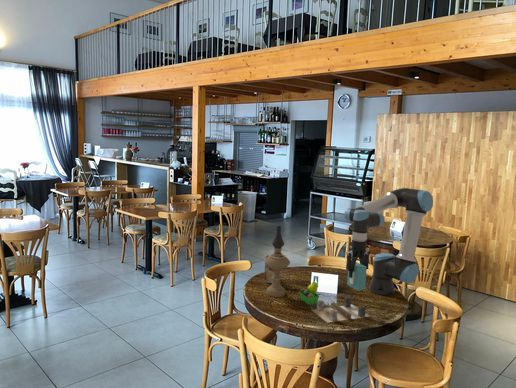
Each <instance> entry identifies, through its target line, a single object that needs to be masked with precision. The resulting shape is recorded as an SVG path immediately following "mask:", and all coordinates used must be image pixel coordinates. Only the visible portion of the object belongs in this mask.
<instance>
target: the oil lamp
mask: <svg viewBox="0 0 516 388" xmlns="http://www.w3.org/2000/svg"><path fill="white" fill-rule="evenodd" d="M275 232H276V233H275V236H274V238H273V240H272V242H271V245H272V246H273V250H274V252H273V253H271V254H269V256H268V257H267V258H266V257H265V258H266V259H265V258H264V265H265V264H266V265H267V266H268V267H270V268H272V269H273V270H274V275H273V276H272V277H271V279H272V283H271V285H270V286H268V287H267V288H266V295H268V296H270V297H273V298H280V297H284V296H285V295H286V290H285V288H284V287H283V286H282V285H281V281H282V276H281V271H282V270H284V269H286V268H288V267H289V265H290V264H291V262H290V259H289V258H288V257H287V256H286V255H285V254H283V253H282V251H283V249H282V248H283V247H284V245H285V243H284V242H285V241H284V239H283V237H282V225H281V226H280V225H276V231H275ZM279 272H280V274H279Z"/></svg>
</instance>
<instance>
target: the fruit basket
mask: <svg viewBox="0 0 516 388" xmlns="http://www.w3.org/2000/svg"><path fill="white" fill-rule="evenodd" d="M318 287H319V285H318V282H316V281H313V282H312V283H311V284H309V285H308V286H307V289H301V290H300V289H299V291H298V292H299V296H300V300H301V301H302V302H304V304H306V305H308V306H309V305H317V301H318V300H319V298H320V295H319V294H317V292H318Z"/></svg>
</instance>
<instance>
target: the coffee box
mask: <svg viewBox="0 0 516 388" xmlns="http://www.w3.org/2000/svg"><path fill="white" fill-rule="evenodd" d="M269 255H270V254H269ZM269 255H268V254H267V255H266V256H265V258H264V260H265V259H266V258H267V257H268V256H269ZM279 274H280V275H281V271H280V272H279ZM273 275H274V270H273V269H272V268H270V267H268V266H267V265H266V264H265V263H264V278H263V279H264V280H263V281H264V283H268V284H272V279H271V277H272V276H273Z"/></svg>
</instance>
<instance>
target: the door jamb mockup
mask: <svg viewBox="0 0 516 388" xmlns="http://www.w3.org/2000/svg"><path fill="white" fill-rule="evenodd" d="M343 298H344V299H343V305H339V304H337V303H336V302H330V307H329V306H328V307H325V300H323V299H320V300H319V299H318V301H317V304H316V308H314V309H311V311H312V312H313V313H314V314H315V315H317V316H318V317H320V319H322V320H323V321H324V322H325V323H327V324H328V323H335V322H341V321H348V320H355V319H361V318H371V315H370V314H369V313H366V310H367V308H366V306H364V305H359V306H356V305H354V304H352V297H350V296H345V297H343Z"/></svg>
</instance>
